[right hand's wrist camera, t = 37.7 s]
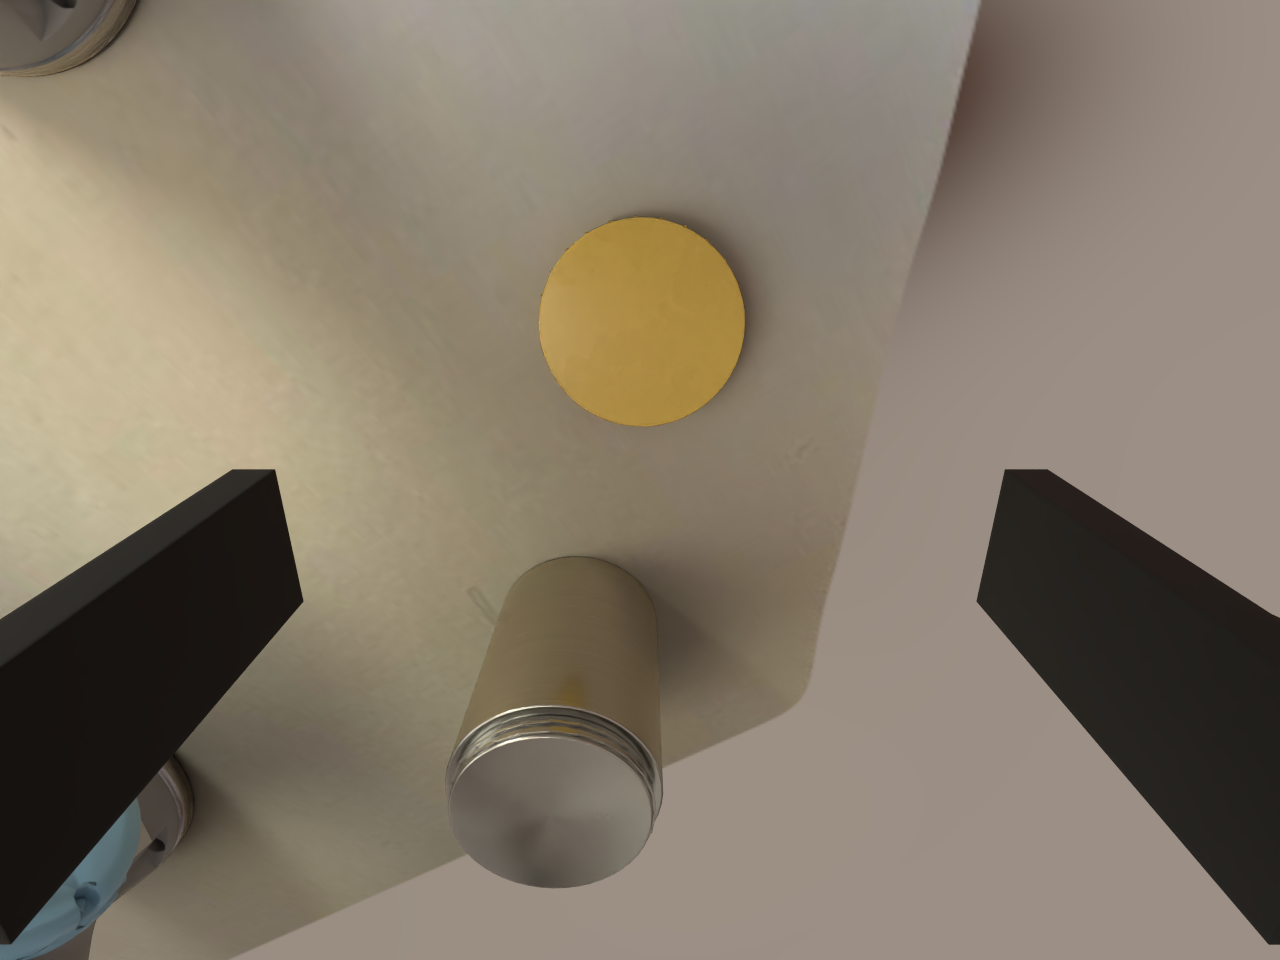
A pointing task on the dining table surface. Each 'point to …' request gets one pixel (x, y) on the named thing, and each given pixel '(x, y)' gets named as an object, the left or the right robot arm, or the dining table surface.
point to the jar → (562, 730)
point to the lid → (641, 321)
